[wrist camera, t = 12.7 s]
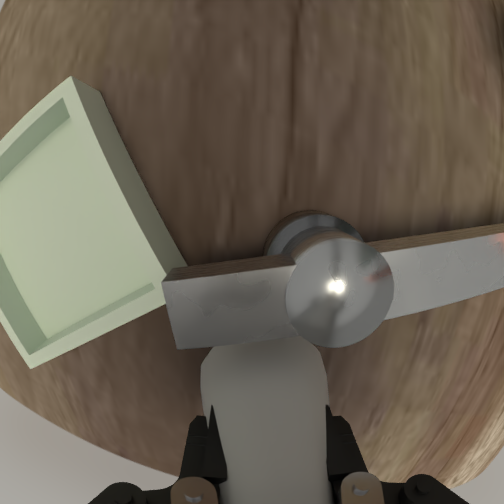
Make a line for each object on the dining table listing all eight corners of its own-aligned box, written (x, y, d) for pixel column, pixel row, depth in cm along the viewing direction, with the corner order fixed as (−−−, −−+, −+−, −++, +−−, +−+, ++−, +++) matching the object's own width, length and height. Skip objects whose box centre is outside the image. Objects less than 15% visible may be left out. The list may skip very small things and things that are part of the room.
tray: (-17, 199, 13) (-49, 204, 10) (99, 91, 12) (70, 75, 9) (55, 344, 15) (30, 369, 12) (192, 274, 14) (179, 296, 11)
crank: (193, 328, 13) (154, 452, 6) (176, 244, 12) (99, 320, 5) (532, 262, 12) (612, 297, 6) (535, 203, 12) (622, 222, 5)
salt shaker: (274, 409, 16) (299, 617, 4) (187, 368, 16) (129, 600, 3) (336, 336, 15) (450, 561, 3) (243, 283, 15) (243, 592, 2)
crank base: (246, 236, 14) (246, 245, 12) (331, 194, 14) (345, 196, 12) (287, 315, 15) (293, 333, 13) (365, 275, 15) (381, 288, 13)
